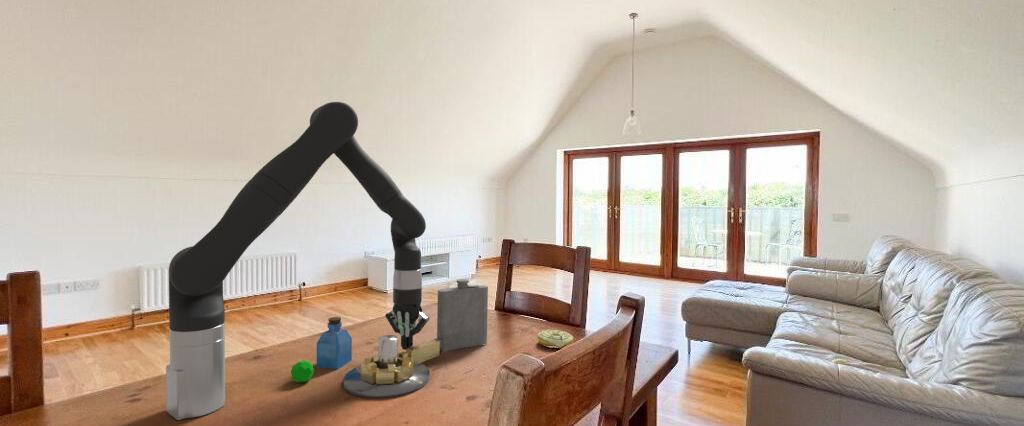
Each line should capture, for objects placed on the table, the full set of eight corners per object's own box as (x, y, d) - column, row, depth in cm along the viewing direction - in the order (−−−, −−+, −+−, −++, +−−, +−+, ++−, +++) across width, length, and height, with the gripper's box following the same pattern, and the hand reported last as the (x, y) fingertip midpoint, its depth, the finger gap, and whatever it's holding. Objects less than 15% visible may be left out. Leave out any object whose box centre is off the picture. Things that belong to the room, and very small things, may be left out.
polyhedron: (307, 375, 109) (307, 356, 109) (317, 381, 106) (317, 361, 106) (286, 381, 105) (287, 361, 105) (296, 387, 102) (296, 367, 102)
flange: (380, 407, 94) (381, 359, 93) (326, 382, 105) (326, 339, 105) (446, 376, 110) (447, 336, 110) (393, 358, 122) (393, 321, 121)
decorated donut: (563, 353, 128) (563, 340, 128) (531, 346, 134) (531, 333, 134) (578, 344, 137) (578, 332, 137) (547, 337, 143) (548, 325, 143)
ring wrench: (383, 388, 99) (383, 370, 99) (351, 375, 106) (351, 358, 106) (457, 357, 119) (457, 343, 119) (425, 348, 126) (425, 334, 126)
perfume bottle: (338, 369, 113) (338, 322, 113) (316, 366, 115) (316, 320, 114) (351, 360, 119) (351, 316, 119) (330, 358, 121) (331, 314, 120)
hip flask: (439, 352, 127) (440, 283, 126) (434, 348, 130) (435, 280, 129) (488, 344, 135) (490, 278, 134) (482, 340, 138) (483, 276, 137)
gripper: (378, 285, 118) (377, 350, 119) (421, 290, 114) (420, 357, 115) (395, 280, 125) (394, 341, 126) (436, 285, 121) (435, 348, 122)
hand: (406, 348), depth 120 cm, fingers closed
